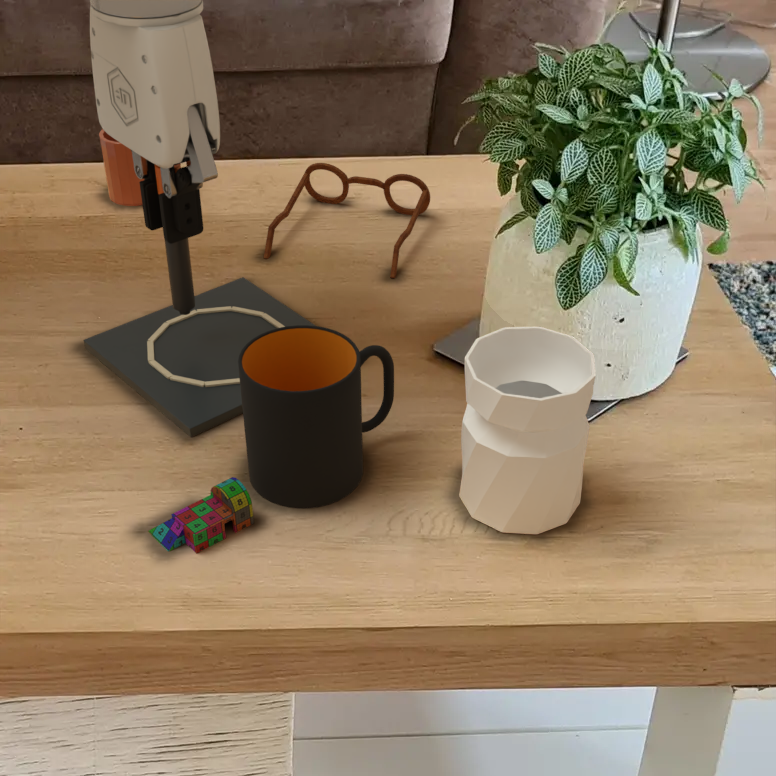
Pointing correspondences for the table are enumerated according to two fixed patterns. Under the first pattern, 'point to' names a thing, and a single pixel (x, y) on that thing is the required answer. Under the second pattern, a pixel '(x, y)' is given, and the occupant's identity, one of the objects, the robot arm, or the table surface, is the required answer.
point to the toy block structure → (207, 518)
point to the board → (193, 352)
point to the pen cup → (120, 172)
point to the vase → (525, 428)
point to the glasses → (305, 181)
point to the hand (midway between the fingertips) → (174, 229)
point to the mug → (307, 413)
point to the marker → (178, 266)
